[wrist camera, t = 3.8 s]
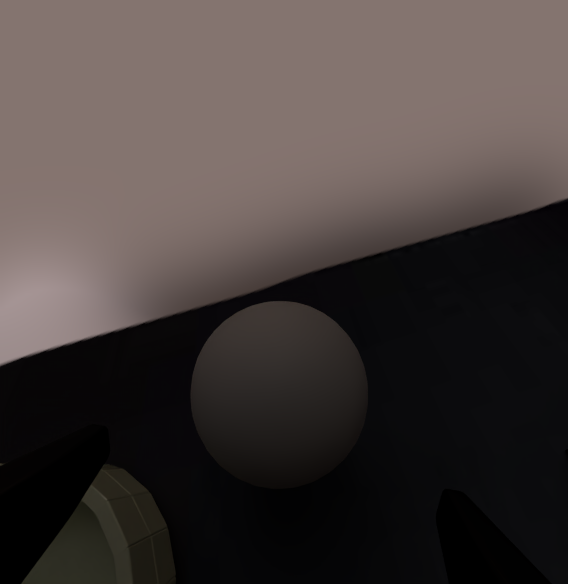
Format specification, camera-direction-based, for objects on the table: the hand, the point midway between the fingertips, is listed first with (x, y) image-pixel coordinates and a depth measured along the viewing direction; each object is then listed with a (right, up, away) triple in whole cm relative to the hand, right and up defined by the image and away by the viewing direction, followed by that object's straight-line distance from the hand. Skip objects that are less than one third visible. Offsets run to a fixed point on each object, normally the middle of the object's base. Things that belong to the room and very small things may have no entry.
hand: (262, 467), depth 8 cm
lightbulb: (+1, -3, +10) cm, 10 cm away
